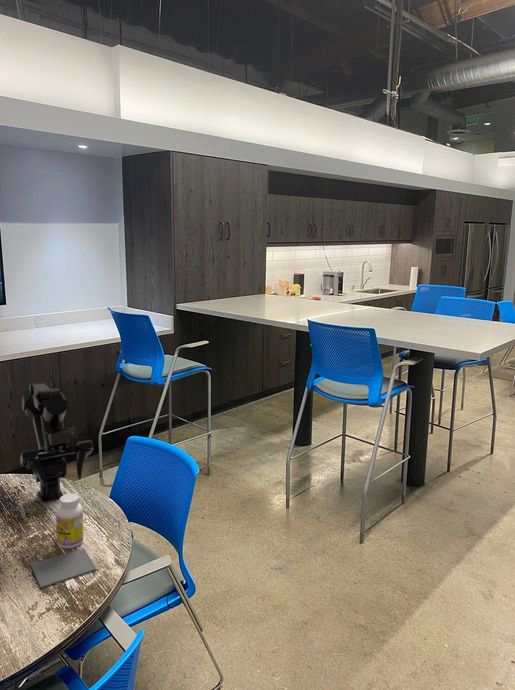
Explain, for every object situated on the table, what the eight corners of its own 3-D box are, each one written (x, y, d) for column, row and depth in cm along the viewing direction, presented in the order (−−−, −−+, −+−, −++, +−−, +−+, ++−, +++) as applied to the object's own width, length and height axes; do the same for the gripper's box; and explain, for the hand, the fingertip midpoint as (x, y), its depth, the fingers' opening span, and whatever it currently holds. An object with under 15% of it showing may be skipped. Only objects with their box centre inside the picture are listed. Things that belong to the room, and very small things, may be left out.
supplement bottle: (51, 544, 138) (49, 499, 135) (70, 532, 144) (69, 489, 141) (69, 552, 135) (68, 506, 132) (89, 540, 141) (88, 495, 138)
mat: (30, 565, 129) (30, 563, 129) (83, 549, 137) (83, 547, 137) (40, 588, 121) (40, 586, 121) (96, 570, 129) (96, 568, 129)
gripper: (20, 423, 139) (28, 479, 133) (91, 413, 149) (102, 466, 143) (17, 439, 148) (24, 493, 141) (85, 429, 157) (95, 479, 151)
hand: (62, 482), depth 144 cm, fingers open, 9 cm apart
